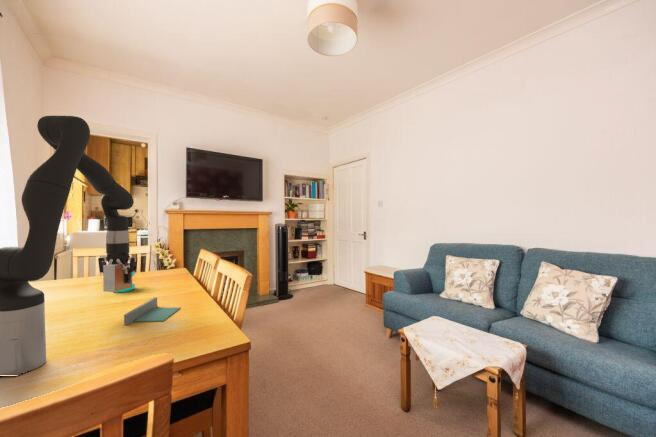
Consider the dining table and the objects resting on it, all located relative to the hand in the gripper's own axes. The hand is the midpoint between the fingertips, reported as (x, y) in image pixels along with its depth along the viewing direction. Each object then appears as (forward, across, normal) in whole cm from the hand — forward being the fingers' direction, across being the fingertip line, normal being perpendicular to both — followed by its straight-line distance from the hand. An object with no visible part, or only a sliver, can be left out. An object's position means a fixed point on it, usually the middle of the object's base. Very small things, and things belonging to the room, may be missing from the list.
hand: (118, 282), depth 112 cm
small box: (+3, 0, 0) cm, 3 cm away
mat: (+13, +16, 0) cm, 21 cm away
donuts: (+13, -21, +35) cm, 43 cm away
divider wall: (+13, +9, 0) cm, 16 cm away
